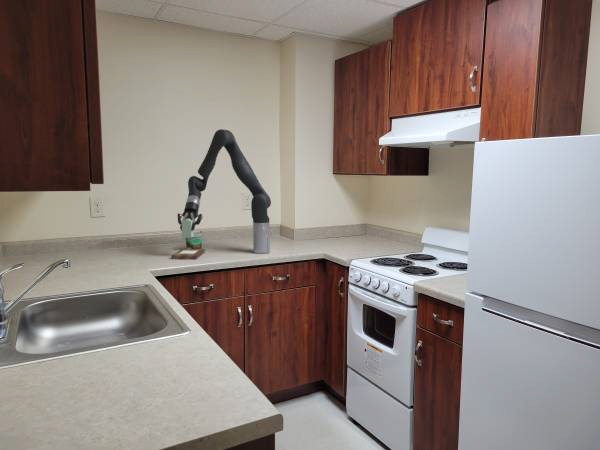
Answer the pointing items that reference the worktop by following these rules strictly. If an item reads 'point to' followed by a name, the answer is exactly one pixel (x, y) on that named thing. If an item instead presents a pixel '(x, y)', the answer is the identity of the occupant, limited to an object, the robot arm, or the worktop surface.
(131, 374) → the worktop surface
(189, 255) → the base board
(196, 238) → the food container
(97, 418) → the worktop surface
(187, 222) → the sage block
